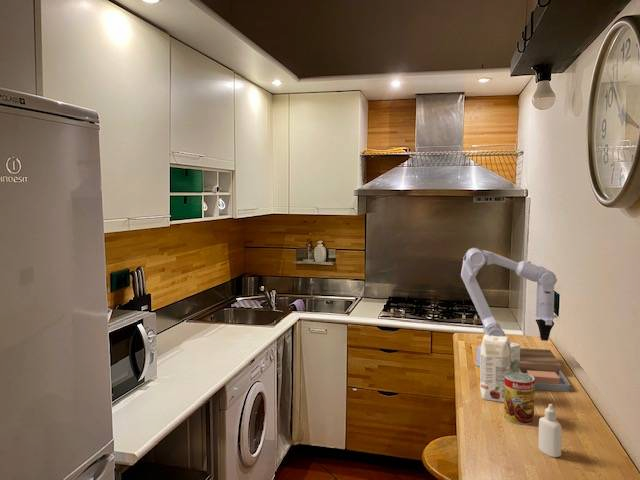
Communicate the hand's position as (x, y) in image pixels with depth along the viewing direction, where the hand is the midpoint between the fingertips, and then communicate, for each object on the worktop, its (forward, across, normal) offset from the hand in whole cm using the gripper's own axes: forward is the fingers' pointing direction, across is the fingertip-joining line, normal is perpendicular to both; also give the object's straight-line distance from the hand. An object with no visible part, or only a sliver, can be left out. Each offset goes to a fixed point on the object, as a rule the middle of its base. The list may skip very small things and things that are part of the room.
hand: (544, 340), depth 180 cm
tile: (+8, -14, +3) cm, 16 cm away
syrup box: (+11, -21, +15) cm, 28 cm away
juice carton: (+11, -31, +20) cm, 38 cm away
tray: (+10, -15, +3) cm, 18 cm away
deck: (+10, +1, +3) cm, 11 cm away
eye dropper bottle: (+11, -64, +10) cm, 65 cm away
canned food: (+11, -45, +15) cm, 49 cm away
